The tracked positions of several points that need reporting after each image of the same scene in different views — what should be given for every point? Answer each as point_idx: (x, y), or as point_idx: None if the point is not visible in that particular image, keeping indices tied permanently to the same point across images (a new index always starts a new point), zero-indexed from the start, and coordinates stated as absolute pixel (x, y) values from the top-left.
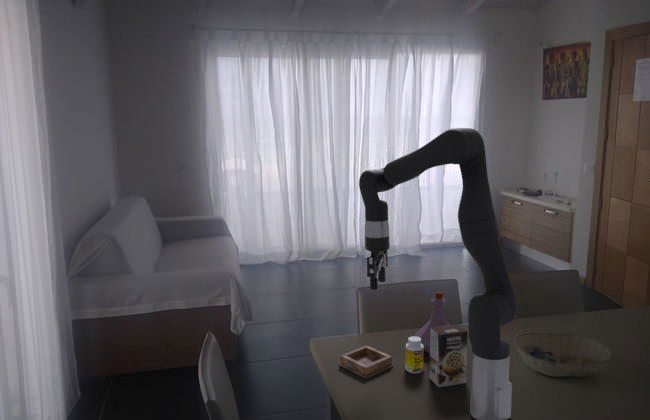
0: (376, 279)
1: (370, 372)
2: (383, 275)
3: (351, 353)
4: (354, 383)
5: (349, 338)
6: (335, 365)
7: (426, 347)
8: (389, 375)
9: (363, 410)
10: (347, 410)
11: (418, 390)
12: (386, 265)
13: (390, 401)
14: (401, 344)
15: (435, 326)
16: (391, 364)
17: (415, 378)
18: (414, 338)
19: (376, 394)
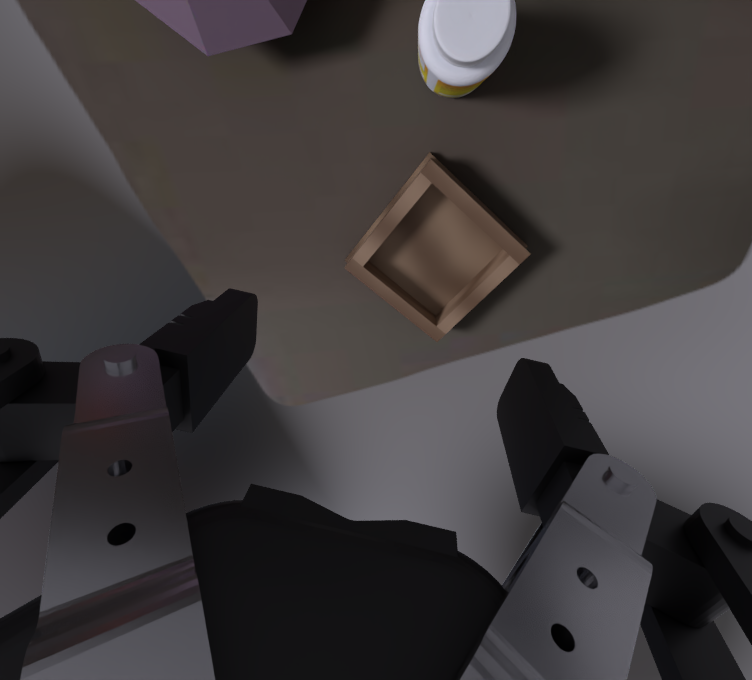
0: (585, 442)
1: (510, 234)
2: (221, 338)
3: (418, 311)
4: (553, 277)
5: None
6: None
7: None
8: (501, 163)
9: (731, 235)
10: (717, 281)
11: (631, 28)
12: (32, 367)
13: (694, 146)
14: (235, 128)
15: None
16: (434, 159)
17: (528, 47)
18: (467, 16)
19: (635, 201)
